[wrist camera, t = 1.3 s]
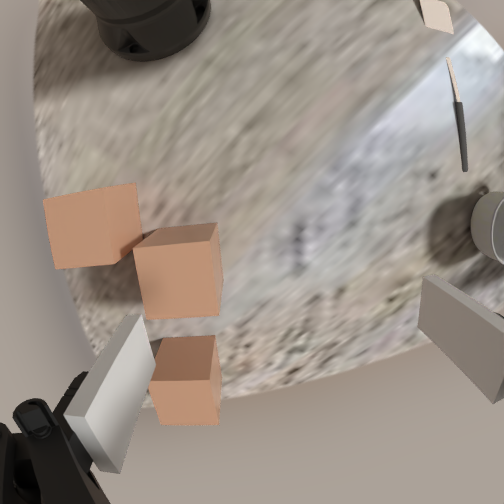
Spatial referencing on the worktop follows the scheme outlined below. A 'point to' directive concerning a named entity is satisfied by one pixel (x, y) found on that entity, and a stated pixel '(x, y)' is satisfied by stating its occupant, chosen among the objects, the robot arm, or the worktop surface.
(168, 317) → the smooth terracotta cube
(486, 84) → the worktop surface
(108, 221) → the peach colored cube
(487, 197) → the teacup
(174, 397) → the tan peach cube
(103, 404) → the robot arm
